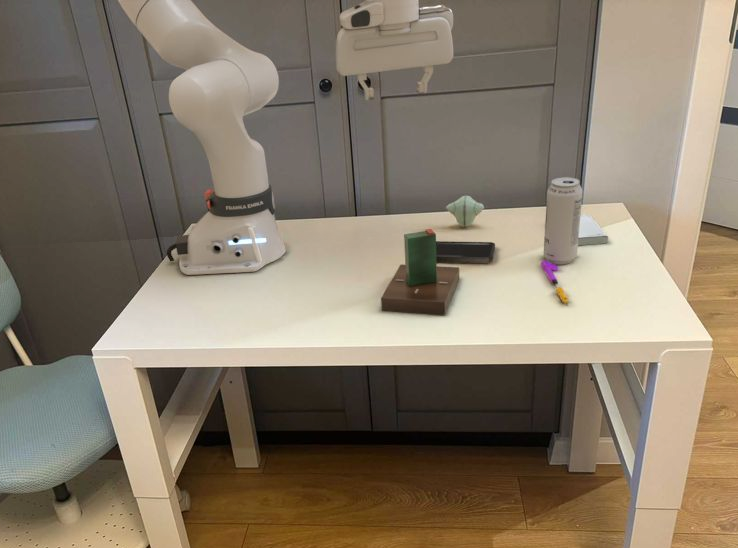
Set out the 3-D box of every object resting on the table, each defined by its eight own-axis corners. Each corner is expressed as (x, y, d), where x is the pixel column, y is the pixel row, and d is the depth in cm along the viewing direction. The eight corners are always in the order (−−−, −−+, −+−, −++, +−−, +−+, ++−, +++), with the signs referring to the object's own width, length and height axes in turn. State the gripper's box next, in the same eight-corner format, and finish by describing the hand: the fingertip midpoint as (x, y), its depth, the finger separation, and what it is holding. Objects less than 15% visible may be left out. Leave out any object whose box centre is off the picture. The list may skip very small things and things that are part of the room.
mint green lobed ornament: (445, 230, 152) (445, 199, 149) (447, 223, 156) (447, 193, 152) (483, 230, 150) (484, 199, 147) (485, 223, 153) (485, 192, 150)
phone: (420, 241, 145) (495, 242, 141) (420, 246, 146) (495, 247, 141) (413, 256, 139) (492, 258, 134) (413, 261, 139) (492, 263, 135)
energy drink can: (546, 251, 138) (551, 175, 130) (578, 254, 135) (585, 176, 128) (540, 264, 133) (544, 186, 126) (573, 267, 131) (580, 187, 123)
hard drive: (608, 235, 138) (589, 212, 148) (565, 238, 138) (549, 216, 149) (607, 243, 138) (588, 220, 149) (564, 246, 139) (549, 223, 150)
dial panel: (444, 315, 120) (444, 301, 118) (381, 310, 123) (380, 297, 122) (459, 279, 131) (459, 266, 130) (401, 276, 135) (400, 263, 133)
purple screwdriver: (539, 264, 132) (561, 304, 119) (541, 258, 132) (564, 298, 118) (553, 266, 132) (577, 307, 119) (555, 260, 132) (579, 300, 118)
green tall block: (409, 286, 125) (407, 237, 120) (405, 281, 127) (403, 232, 122) (436, 281, 125) (436, 232, 121) (432, 276, 127) (431, 228, 122)
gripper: (448, 1, 122) (449, 85, 129) (330, 15, 121) (337, 99, 128) (458, 4, 117) (458, 92, 124) (334, 19, 116) (341, 106, 123)
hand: (395, 96), depth 126 cm, fingers open, 8 cm apart
